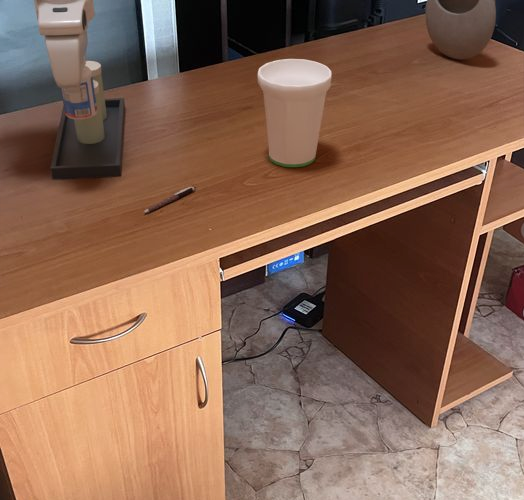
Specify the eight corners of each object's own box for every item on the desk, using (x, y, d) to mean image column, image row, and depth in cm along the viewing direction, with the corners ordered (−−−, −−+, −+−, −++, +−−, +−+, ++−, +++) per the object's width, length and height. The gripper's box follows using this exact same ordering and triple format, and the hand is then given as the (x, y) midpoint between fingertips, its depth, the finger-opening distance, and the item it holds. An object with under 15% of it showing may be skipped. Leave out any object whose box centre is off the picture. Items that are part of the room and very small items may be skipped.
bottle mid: (75, 144, 142) (67, 91, 136) (77, 132, 146) (69, 79, 140) (104, 143, 143) (97, 89, 136) (106, 131, 147) (99, 78, 140)
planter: (411, 50, 182) (422, -38, 170) (431, 43, 185) (444, -43, 173) (474, 73, 171) (491, -19, 159) (495, 65, 175) (513, -25, 162)
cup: (254, 142, 145) (254, 59, 135) (321, 140, 146) (325, 57, 136) (260, 174, 135) (261, 87, 125) (332, 171, 136) (338, 85, 126)
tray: (52, 179, 134) (50, 168, 132) (66, 110, 155) (64, 100, 154) (121, 176, 135) (119, 165, 133) (125, 108, 156) (124, 97, 155)
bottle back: (79, 123, 149) (71, 71, 143) (81, 112, 153) (73, 61, 147) (106, 122, 150) (100, 70, 143) (107, 111, 154) (101, 60, 147)
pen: (193, 189, 131) (193, 183, 131) (197, 190, 131) (196, 185, 130) (141, 213, 125) (141, 208, 124) (144, 215, 125) (144, 210, 124)
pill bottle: (78, 105, 135) (69, 47, 129) (104, 110, 133) (96, 52, 127) (58, 117, 131) (48, 58, 125) (84, 123, 130) (75, 64, 123)
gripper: (50, -14, 129) (63, 70, 138) (36, 27, 113) (52, 119, 122) (89, -15, 129) (100, 69, 138) (80, 26, 114) (93, 117, 123)
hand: (77, 93), depth 130 cm, fingers closed on pill bottle, 5 cm apart
